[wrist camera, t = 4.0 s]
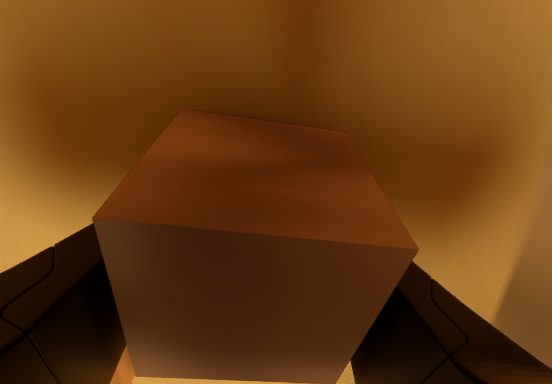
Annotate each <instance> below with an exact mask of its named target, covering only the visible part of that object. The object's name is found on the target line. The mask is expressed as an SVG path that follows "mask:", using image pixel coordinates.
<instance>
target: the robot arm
mask: <svg viewBox="0 0 552 384" xmlns="http://www.w3.org/2000/svg"><path fill="white" fill-rule="evenodd" d="M126 345H127V343H126V339H125V336H124V332H123V328H122V325H121V321H120V317H119V314H118V310H117V306H116V303H115V299H114V295H113V292H112V288H111V284H110V281H109V277H108V274H107V270H106V266H105V263H104V259H103V255H102V252H101V248H100V244H99V241H98V237H97V233H96V230H95V226H94V223H92V224H91V225H89V226H87V227H85V228H83V229H82V230H80V231H78V232H76V233H74V234H73V235H71V236H69V237H67V238H65V239H64V240H62V241H60V242H58V243H56V244H55V245H54V247H53V246H51V247H49V248H47V249H45V250H44V251H42V252H40V253H38V254H36V255H34V256H33V257H31V258H29V259H27V260H25V261H23V262H21V263H19V264H17V265H16V266H14V267H12V268H10V269H8V270H6V271H4V272H2V273H0V384H110V382H111V380H112V378H113V375H114V373H115V371H116V368H117V366H118V363H119V361H120V359H121V356H122V354H123V352H124V349H125V347H126ZM350 361H351V365H352V370H353V375H354V379H355V384H552V369H551V368H549V367H548V366H546V365H545V364H543V363H542V362H541V361H539V360H538V359H536V358H535V357H534V356H532V355H531V354H530V353H528V352H527V351H526V350H524V349H523V348H521V347H520V346H519V345H518V344H516V343H515V342H514V341H512V340H511V339H510V338H508V337H507V336H506V335H504V334H503V333H502V332H500V331H499V330H498V329H496V328H495V327H494V326H492V325H491V324H490V323H488V322H487V321H486V320H484V319H483V318H482V317H480V316H479V315H478V314H476V313H475V312H474V311H472V310H471V309H470V308H468V307H467V306H466V305H465V304H463V303H462V302H461V301H460V300H458V299H457V298H456V297H455V296H453V295H452V294H451V293H450V292H449V291H447V290H446V289H445V288H444V287H442V286H441V285H440V284H439V283H438V282H437V281H435V280H434V279H431V276H429V275H428V274H427V273H426V272H425V271H423V270H422V269H421V268H420V267H419V266H417V265H416V264H415V263H414V262H413V261H411V263H410V265H409V266H408V268H407V270H406V271H405V273H404V274H403V276H402V278H401V279H400V281H399V282H398V284H397V286H396V287H395V289H394V290H393V292H392V294H391V295H390V297H389V298H388V300H387V302H386V303H385V305H384V306H383V308H382V310H381V311H380V313H379V314H378V316H377V318H376V319H375V321H374V322H373V324H372V326H371V327H370V329H369V330H368V332H367V334H366V335H365V337H364V338H363V340H362V342H361V343H360V345H359V347H358V348H357V350H356V351H355V353H354V355H353V356H352V358H351V359H350Z"/></svg>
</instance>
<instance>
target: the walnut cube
mask: <svg viewBox="0 0 552 384" xmlns="http://www.w3.org/2000/svg"><path fill="white" fill-rule="evenodd" d="M92 219H93V222H94V226H95V230H96V233H97V237H98V241H99V244H100V248H101V252H102V255H103V259H104V263H105V266H106V270H107V274H108V277H109V281H110V284H111V288H112V292H113V295H114V299H115V303H116V306H117V310H118V314H119V317H120V321H121V325H122V328H123V332H124V336H125V339H126V343H127V347H128V350H129V354H130V358H131V361H132V365H133V368H134V372H135V376H136V377H160V378H186V379H211V380H237V381H263V382H289V383H315V384H335V383H336V382H337V380H338V379H339V377H340V375H341V374H342V372H343V371H344V369H345V367H346V366H347V364H348V363H349V361H350V359H351V358H352V356H353V355H354V353H355V351H356V350H357V348H358V347H359V345H360V343H361V342H362V340H363V338H364V337H365V335H366V334H367V332H368V330H369V329H370V327H371V326H372V324H373V322H374V321H375V319H376V318H377V316H378V314H379V313H380V311H381V310H382V308H383V306H384V305H385V303H386V302H387V300H388V298H389V297H390V295H391V294H392V292H393V290H394V289H395V287H396V286H397V284H398V282H399V281H400V279H401V278H402V276H403V274H404V273H405V271H406V270H407V268H408V266H409V265H410V263H411V261H412V260H413V258H414V257H415V255H416V253H417V252H418V250H419V249H418V247H417V245H416V244H415V242H414V241H413V239H412V237H411V236H410V234H409V233H408V231H407V229H406V228H405V226H404V225H403V223H402V221H401V220H400V218H399V216H398V215H397V213H396V212H395V210H394V208H393V207H392V205H391V204H390V202H389V200H388V199H387V197H386V196H385V194H384V192H383V191H382V189H381V187H380V186H379V184H378V183H377V181H376V179H375V178H374V176H373V175H372V173H371V171H370V170H369V168H368V167H367V165H366V163H365V162H364V160H363V159H362V157H361V155H360V154H359V152H358V150H357V149H356V147H355V146H354V144H353V142H352V141H351V139H350V138H349V136H348V134H347V133H346V132H343V131H336V130H329V129H322V128H315V127H308V126H301V125H294V124H287V123H280V122H273V121H266V120H259V119H252V118H245V117H238V116H231V115H224V114H217V113H210V112H203V111H196V110H189V109H181V110H180V111H179V112H178V114H177V115H176V116H175V117H174V118H173V120H172V121H171V122H170V123H169V125H168V126H167V127H166V128H165V129H164V131H163V132H162V133H161V134H160V136H159V137H158V138H157V139H156V140H155V142H154V143H153V144H152V145H151V146H150V148H149V149H148V150H147V151H146V153H145V154H144V155H143V156H142V157H141V159H140V160H139V161H138V162H137V164H136V165H135V166H134V167H133V168H132V170H131V171H130V172H129V173H128V175H127V176H126V177H125V178H124V179H123V181H122V182H121V183H120V184H119V186H118V187H117V188H116V189H115V190H114V192H113V193H112V194H111V195H110V197H109V198H108V199H107V200H106V201H105V203H104V204H103V205H102V206H101V207H100V209H99V210H98V211H97V212H96V214H95V215H94V216H93V217H92Z"/></svg>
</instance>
